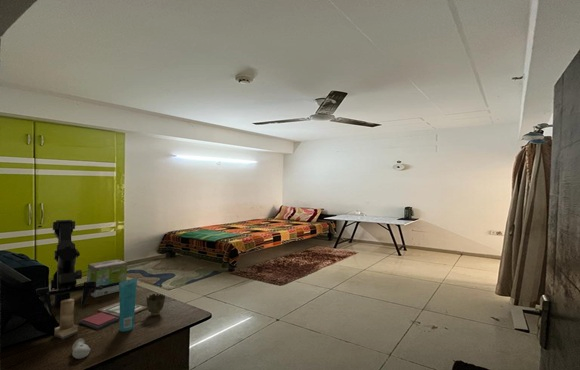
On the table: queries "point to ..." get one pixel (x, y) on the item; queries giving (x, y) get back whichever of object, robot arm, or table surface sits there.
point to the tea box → (107, 276)
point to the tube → (127, 303)
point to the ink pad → (99, 320)
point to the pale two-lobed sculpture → (80, 349)
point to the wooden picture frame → (115, 309)
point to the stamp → (66, 320)
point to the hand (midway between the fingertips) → (67, 312)
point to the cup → (155, 304)
